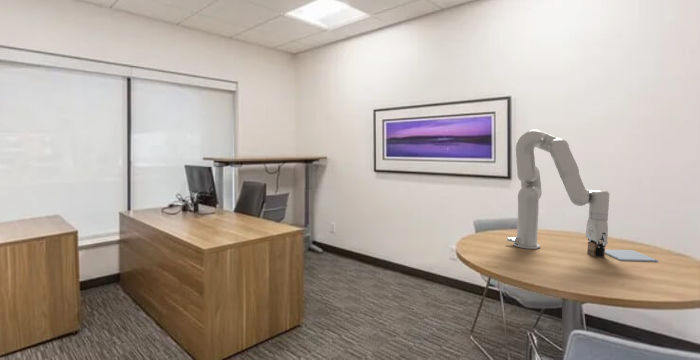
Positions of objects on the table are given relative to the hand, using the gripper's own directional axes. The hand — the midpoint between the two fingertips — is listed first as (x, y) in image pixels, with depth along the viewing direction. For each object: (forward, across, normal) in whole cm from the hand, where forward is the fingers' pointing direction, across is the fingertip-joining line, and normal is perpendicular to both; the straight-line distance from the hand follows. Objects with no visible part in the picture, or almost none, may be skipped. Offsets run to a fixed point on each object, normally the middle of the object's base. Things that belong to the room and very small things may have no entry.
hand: (595, 253), depth 174 cm
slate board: (+1, 0, +14) cm, 14 cm away
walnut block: (+1, 0, 0) cm, 1 cm away
